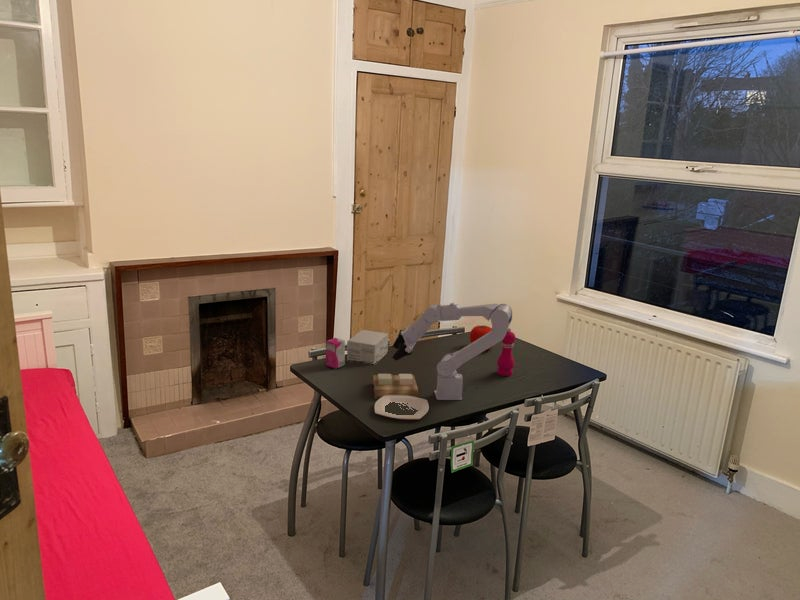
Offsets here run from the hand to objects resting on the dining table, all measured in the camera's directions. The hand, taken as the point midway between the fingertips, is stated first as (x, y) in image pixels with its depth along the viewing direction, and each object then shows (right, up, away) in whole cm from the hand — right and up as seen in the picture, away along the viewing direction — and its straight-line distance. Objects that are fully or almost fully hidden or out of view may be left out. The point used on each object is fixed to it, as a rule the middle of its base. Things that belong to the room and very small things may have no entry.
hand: (394, 352), depth 229 cm
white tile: (+4, -11, 0) cm, 12 cm away
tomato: (+40, -3, +52) cm, 66 cm away
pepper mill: (+46, -11, +22) cm, 52 cm away
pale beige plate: (+3, -20, -16) cm, 25 cm away
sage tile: (-4, -11, -1) cm, 12 cm away
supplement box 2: (-12, -5, +35) cm, 38 cm away
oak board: (0, -14, 0) cm, 15 cm away
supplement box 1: (-25, -8, +22) cm, 34 cm away
